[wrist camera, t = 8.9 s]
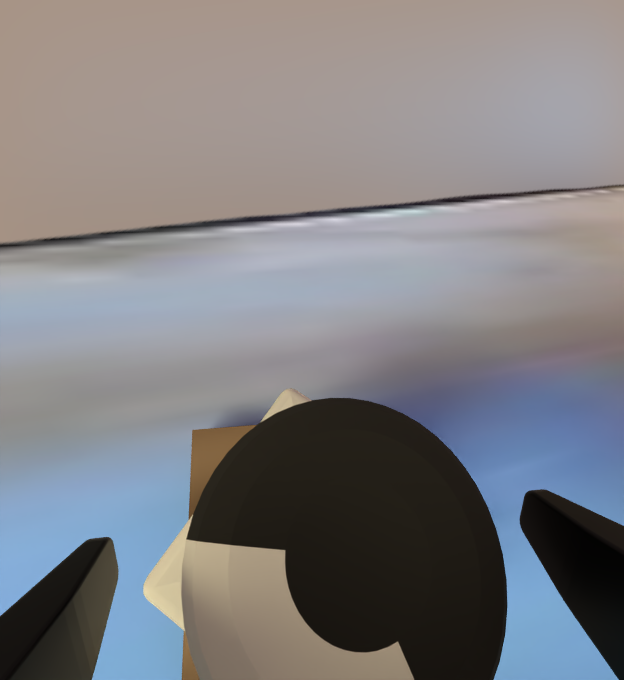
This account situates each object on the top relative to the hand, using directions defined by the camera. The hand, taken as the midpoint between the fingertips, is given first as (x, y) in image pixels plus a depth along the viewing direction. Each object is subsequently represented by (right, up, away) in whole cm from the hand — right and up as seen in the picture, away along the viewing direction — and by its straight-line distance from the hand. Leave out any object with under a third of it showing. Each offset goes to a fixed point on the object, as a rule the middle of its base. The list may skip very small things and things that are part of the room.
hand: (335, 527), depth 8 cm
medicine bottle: (-1, -5, +9) cm, 10 cm away
